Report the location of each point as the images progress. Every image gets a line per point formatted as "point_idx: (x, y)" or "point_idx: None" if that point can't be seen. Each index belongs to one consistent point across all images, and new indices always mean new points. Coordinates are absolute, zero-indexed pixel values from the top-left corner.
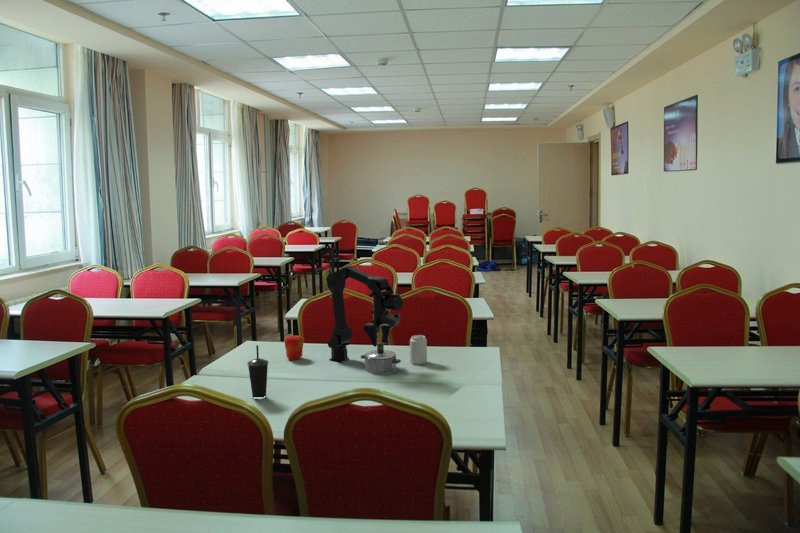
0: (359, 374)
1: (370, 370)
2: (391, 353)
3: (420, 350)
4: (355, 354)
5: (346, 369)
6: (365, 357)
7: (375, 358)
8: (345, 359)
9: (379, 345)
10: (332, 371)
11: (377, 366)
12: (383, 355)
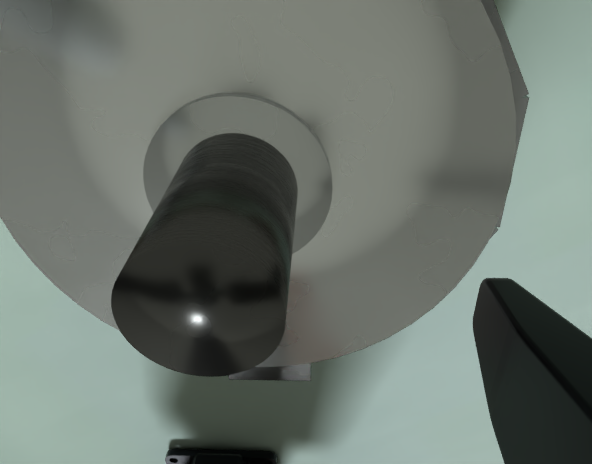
0: (542, 194)
1: None
2: (98, 1)
3: None
4: (49, 456)
5: (426, 353)
6: None
7: (511, 126)
8: (215, 454)
9: (285, 273)
10: None
11: None
12: (316, 73)
